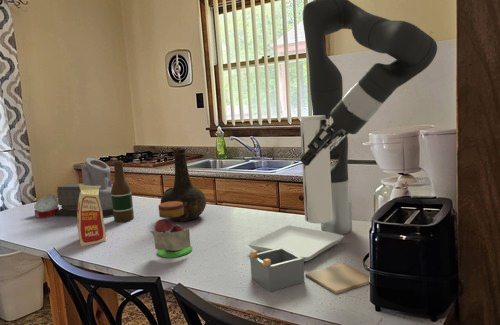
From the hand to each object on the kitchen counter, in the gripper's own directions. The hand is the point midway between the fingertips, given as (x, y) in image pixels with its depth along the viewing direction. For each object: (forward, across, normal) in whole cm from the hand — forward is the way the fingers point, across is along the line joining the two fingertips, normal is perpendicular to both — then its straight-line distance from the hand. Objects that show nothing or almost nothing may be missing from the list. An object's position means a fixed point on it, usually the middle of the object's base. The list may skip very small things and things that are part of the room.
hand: (309, 160), depth 101 cm
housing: (+26, +5, +15) cm, 31 cm away
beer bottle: (+86, -20, -45) cm, 99 cm away
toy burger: (+54, 0, -13) cm, 55 cm away
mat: (+17, -2, +25) cm, 30 cm away
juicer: (+102, -22, -62) cm, 121 cm away
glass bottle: (+70, -30, -29) cm, 81 cm away
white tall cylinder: (+9, 0, +11) cm, 15 cm away
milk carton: (+79, +3, -38) cm, 87 cm away
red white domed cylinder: (+115, -12, -74) cm, 137 cm away
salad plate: (+31, -17, +11) cm, 37 cm away
